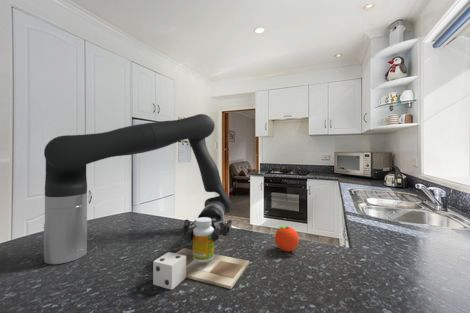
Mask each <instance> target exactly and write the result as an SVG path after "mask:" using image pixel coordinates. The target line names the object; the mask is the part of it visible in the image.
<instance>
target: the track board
mask: <svg viewBox="0 0 470 313" xmlns="http://www.w3.org/2000/svg"><path fill="white" fill-rule="evenodd" d="M174 253H175V254H180V255H185V256H186V278H187V279H191V280H194V281H199V282H201V283H206V284H210V285H213V286H218V287H220V288H221V287H222V288H225V289H230V290H231V289H233V287H234V286H235V284H236V283H237V281H238V280H239V279H240V277H241V276H242V274H244V272H245V270H246V269H247V268H248V266H249V264H250V260H247V259H241V258H236V257H232V256H231V257H230V256H226V255H222V254H221V255H220V254H215V253H214V258H213V259H212V260H210V261H207V262H198V261H195V260H194V259H193V249H189V248H184V247H183V248H182V249H180V250H178V251H177V252H174ZM186 278H185V279H186Z"/></svg>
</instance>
